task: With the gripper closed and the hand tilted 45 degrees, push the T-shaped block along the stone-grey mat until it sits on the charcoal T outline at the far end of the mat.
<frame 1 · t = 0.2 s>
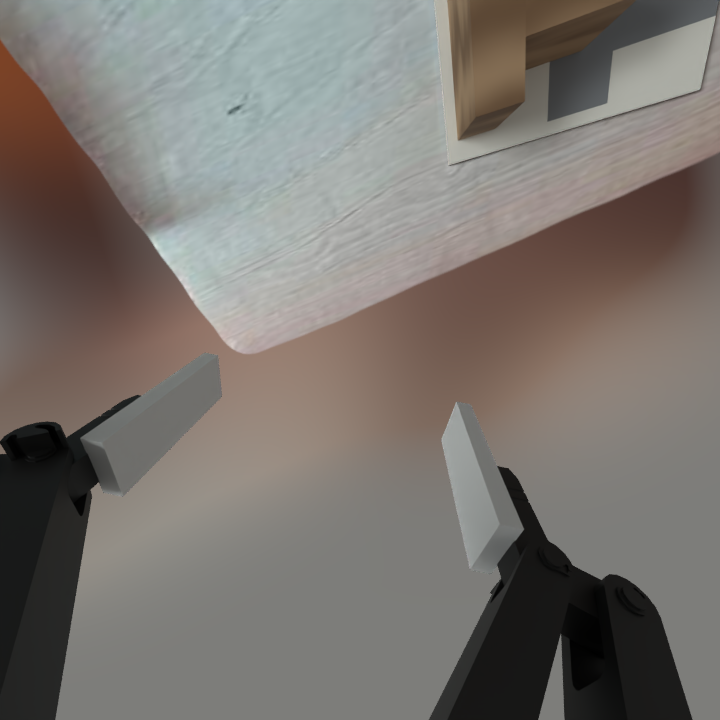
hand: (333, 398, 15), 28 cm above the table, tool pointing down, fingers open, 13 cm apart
t block: (497, 53, 27), resting on mat
mat: (567, 30, 26), on the table
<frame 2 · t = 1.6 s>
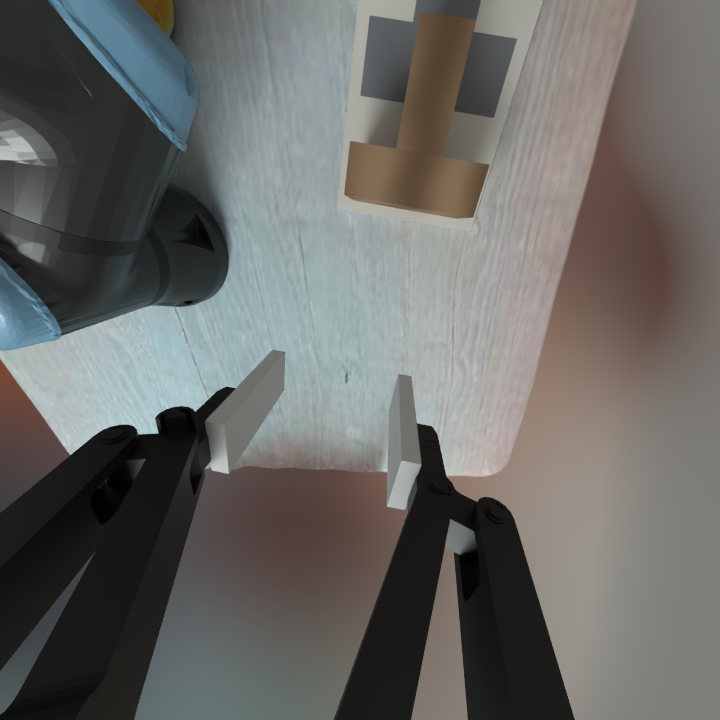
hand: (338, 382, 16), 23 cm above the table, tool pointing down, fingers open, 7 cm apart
t block: (414, 164, 30), resting on mat
mat: (430, 86, 27), on the table
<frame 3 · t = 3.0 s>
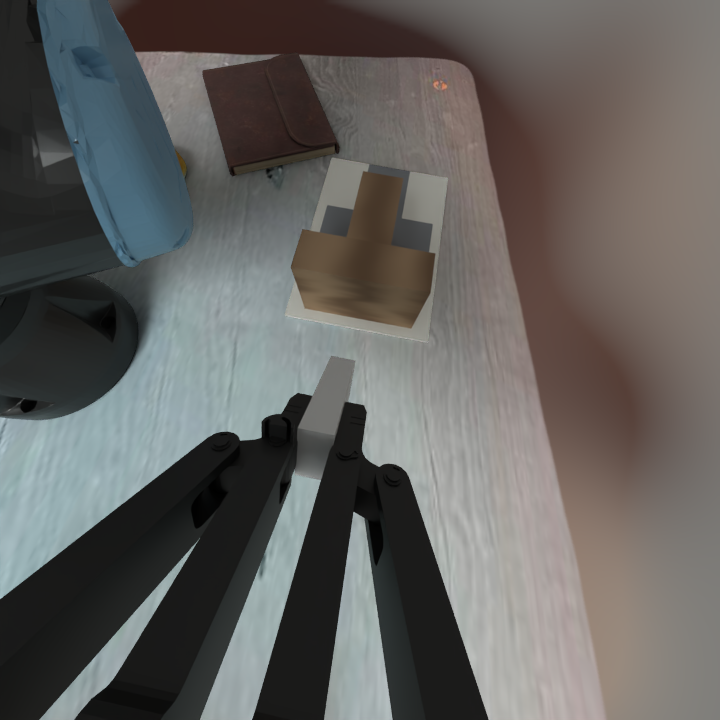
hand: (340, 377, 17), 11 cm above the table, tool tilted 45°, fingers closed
t block: (364, 284, 31), resting on mat
mat: (374, 242, 34), on the table
notebook: (270, 120, 40), on the table
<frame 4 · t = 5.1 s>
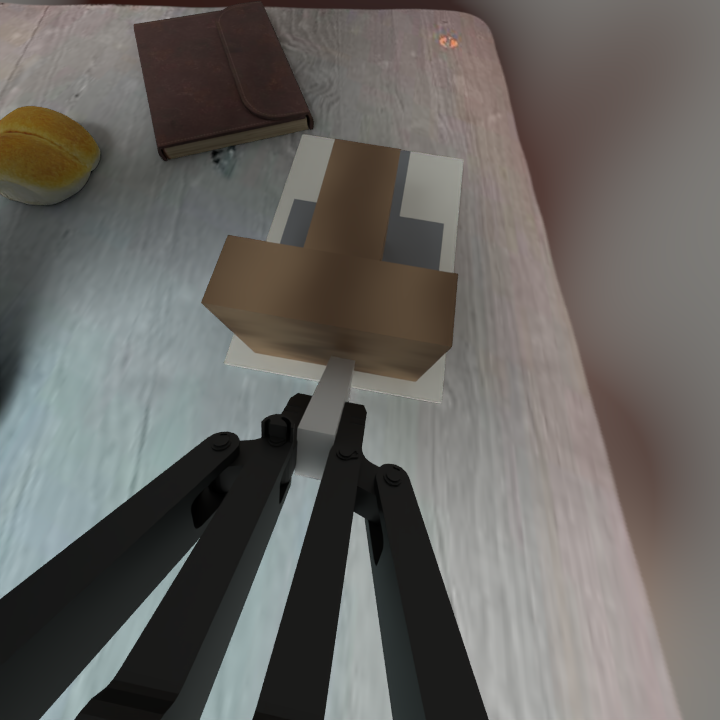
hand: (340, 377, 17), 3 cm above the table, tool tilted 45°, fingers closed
t block: (346, 313, 21), point 1 cm above the table, touching gripper
mat: (360, 250, 24), on the table
bread roll: (59, 175, 26), on the table
notebook: (223, 88, 30), on the table
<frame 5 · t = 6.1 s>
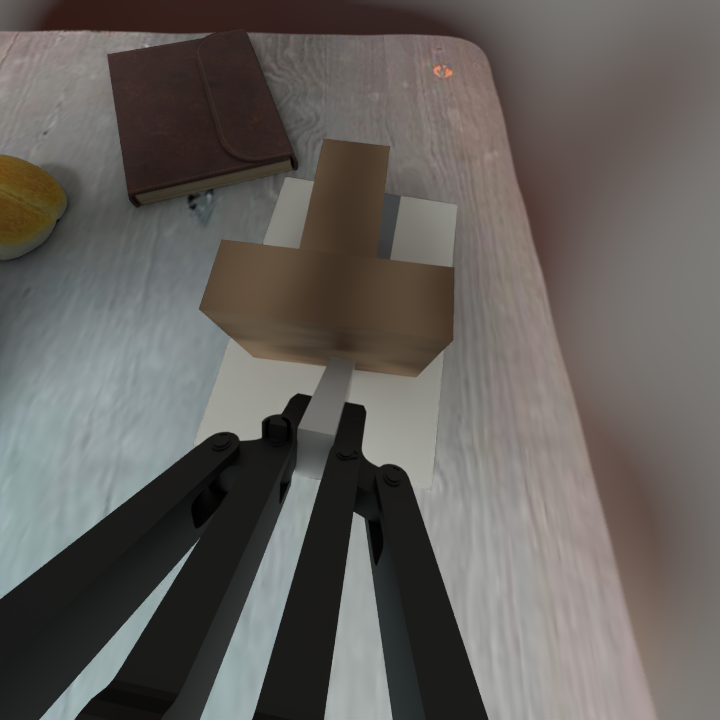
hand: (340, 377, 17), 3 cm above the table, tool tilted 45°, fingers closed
t block: (343, 313, 21), point 1 cm above the table, touching gripper
mat: (346, 309, 22), on the table
bread roll: (22, 223, 24), on the table
notebook: (203, 122, 28), on the table
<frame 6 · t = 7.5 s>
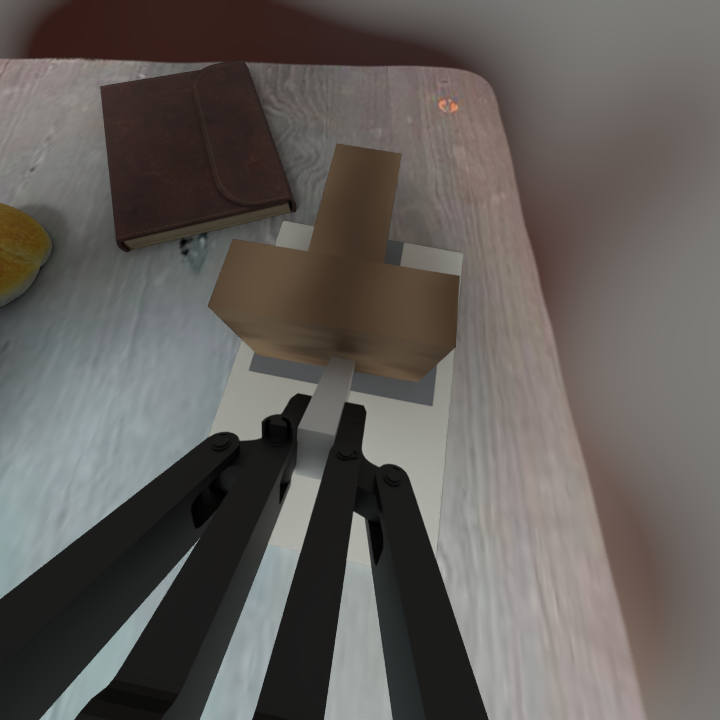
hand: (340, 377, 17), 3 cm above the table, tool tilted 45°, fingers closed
t block: (348, 315, 21), resting on mat, touching gripper
mat: (344, 368, 21), on the table
bread roll: (4, 269, 23), on the table
notebook: (199, 158, 27), on the table
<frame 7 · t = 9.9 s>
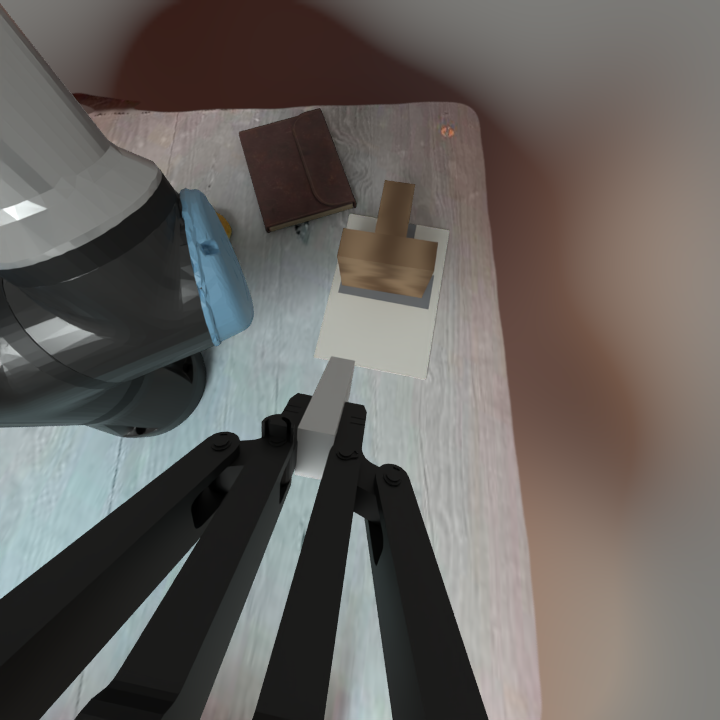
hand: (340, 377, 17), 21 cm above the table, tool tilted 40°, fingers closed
t block: (386, 265, 41), resting on mat
mat: (384, 292, 41), on the table
notebook: (297, 175, 47), on the table
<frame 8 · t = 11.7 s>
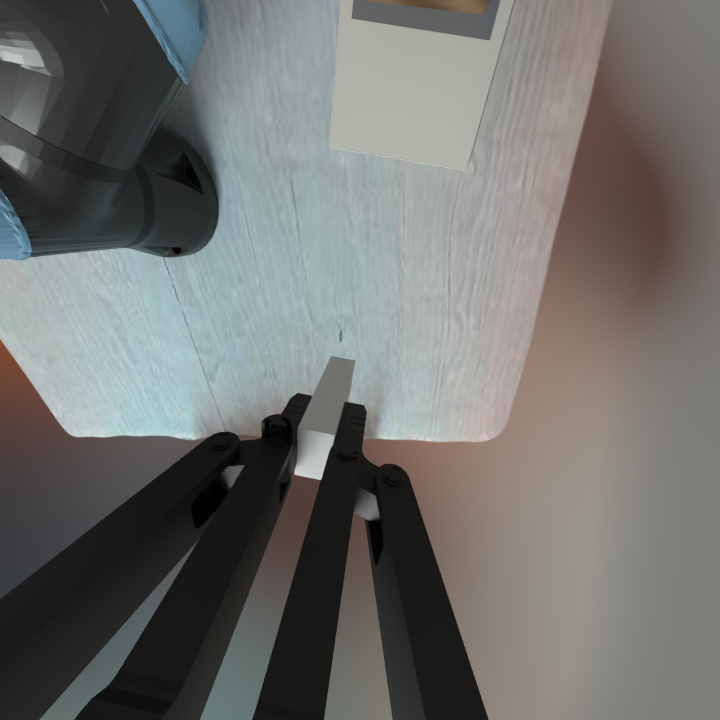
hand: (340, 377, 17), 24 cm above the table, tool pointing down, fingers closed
mat: (424, 7, 26), on the table
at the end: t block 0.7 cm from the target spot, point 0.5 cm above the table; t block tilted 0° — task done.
